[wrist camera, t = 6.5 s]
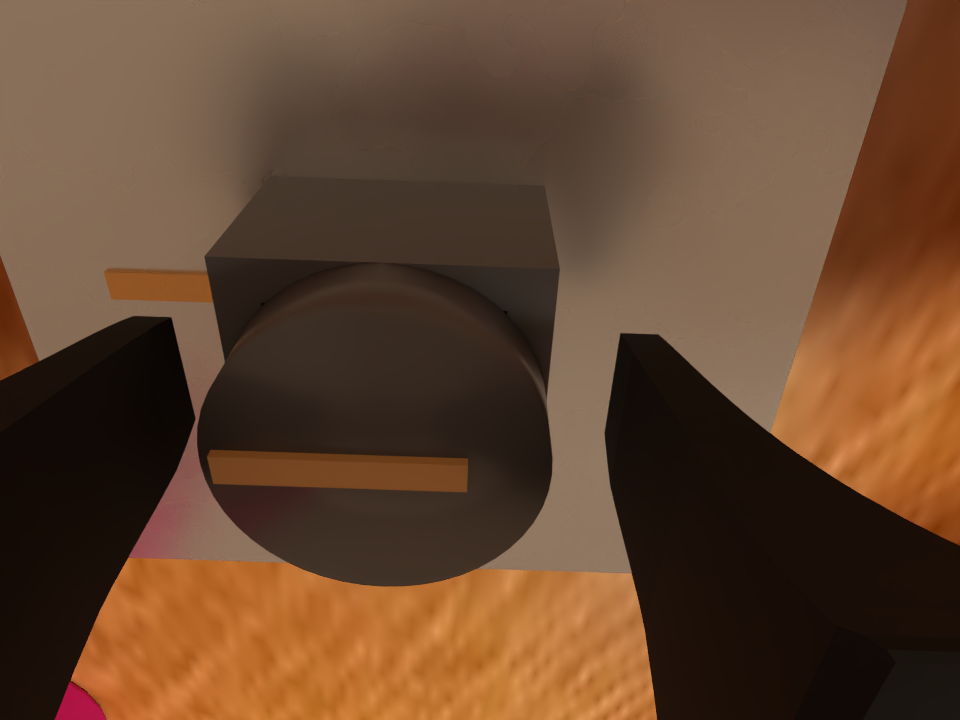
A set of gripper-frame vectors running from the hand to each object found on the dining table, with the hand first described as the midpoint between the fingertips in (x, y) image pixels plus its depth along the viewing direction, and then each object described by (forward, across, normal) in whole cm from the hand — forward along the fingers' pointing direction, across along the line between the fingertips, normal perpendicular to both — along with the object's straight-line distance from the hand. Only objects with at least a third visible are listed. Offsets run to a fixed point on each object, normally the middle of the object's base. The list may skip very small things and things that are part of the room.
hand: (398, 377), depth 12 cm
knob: (+3, 0, 0) cm, 3 cm away
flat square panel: (+4, 0, 0) cm, 4 cm away
